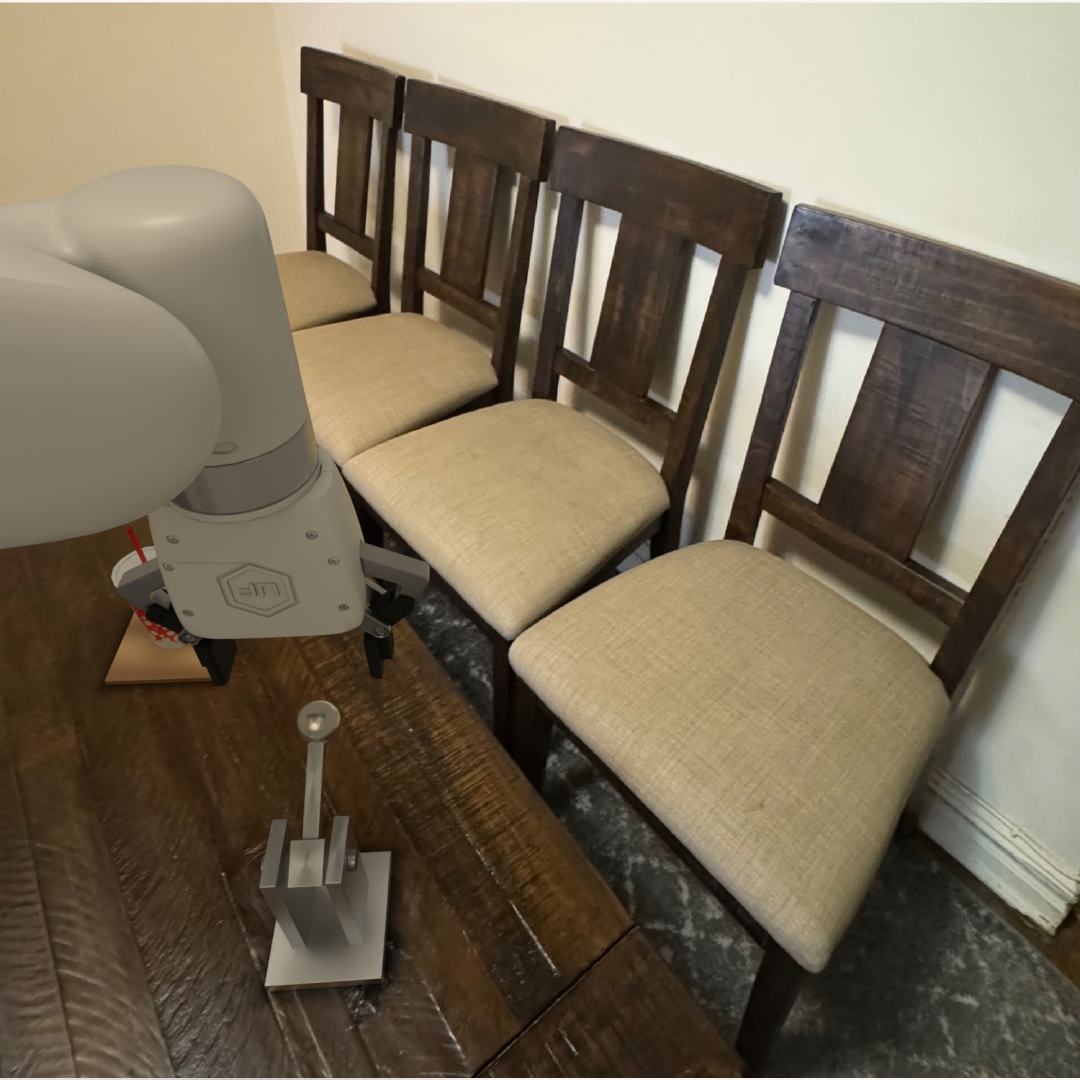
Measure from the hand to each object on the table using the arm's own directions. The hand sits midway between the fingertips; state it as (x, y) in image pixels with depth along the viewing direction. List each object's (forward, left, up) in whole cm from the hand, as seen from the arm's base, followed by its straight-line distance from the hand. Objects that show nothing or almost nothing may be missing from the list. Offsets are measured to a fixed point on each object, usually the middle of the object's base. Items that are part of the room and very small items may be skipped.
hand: (303, 664), depth 48 cm
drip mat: (+20, +19, -20) cm, 34 cm away
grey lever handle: (-4, 0, -10) cm, 10 cm away
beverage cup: (+20, +19, -20) cm, 34 cm away
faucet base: (-8, 0, -20) cm, 22 cm away
